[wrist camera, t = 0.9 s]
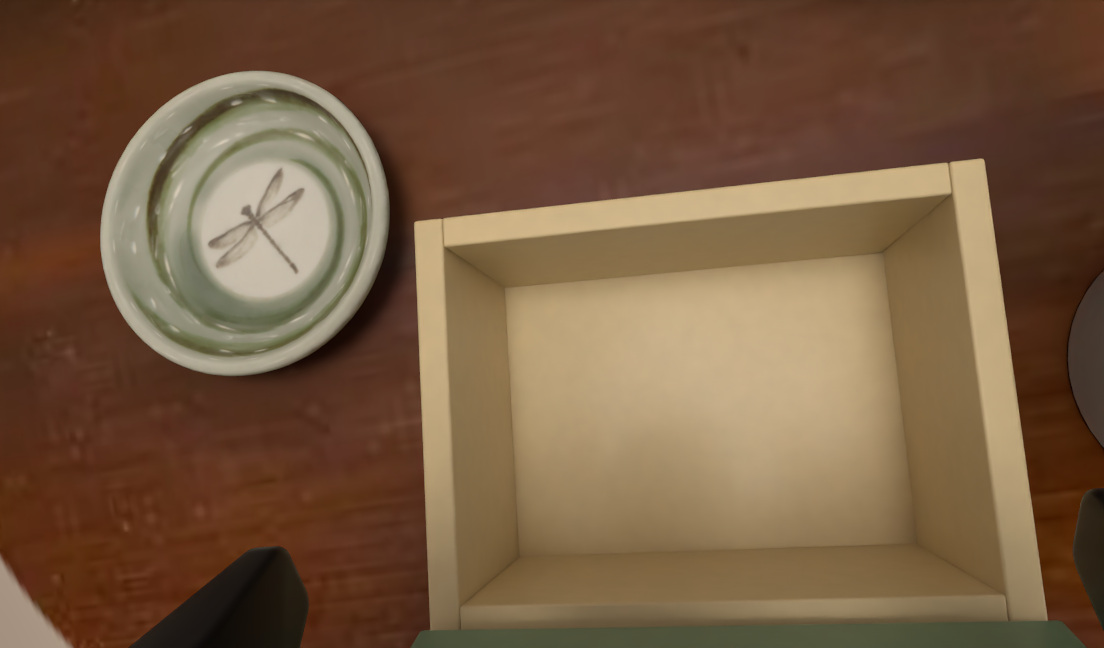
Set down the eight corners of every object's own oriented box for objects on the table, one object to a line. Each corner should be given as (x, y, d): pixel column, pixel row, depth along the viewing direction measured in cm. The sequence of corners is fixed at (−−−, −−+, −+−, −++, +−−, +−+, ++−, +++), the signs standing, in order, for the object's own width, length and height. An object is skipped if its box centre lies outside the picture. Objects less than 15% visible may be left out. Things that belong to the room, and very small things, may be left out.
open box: (487, 272, 24) (412, 220, 18) (899, 232, 22) (985, 157, 16) (503, 576, 23) (429, 640, 17) (940, 564, 21) (1051, 632, 15)
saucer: (300, 437, 25) (258, 440, 23) (100, 274, 27) (42, 261, 25) (470, 194, 25) (446, 171, 22) (256, 49, 27) (214, 13, 25)
